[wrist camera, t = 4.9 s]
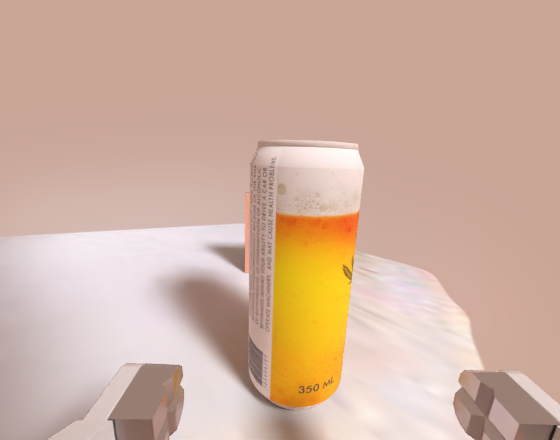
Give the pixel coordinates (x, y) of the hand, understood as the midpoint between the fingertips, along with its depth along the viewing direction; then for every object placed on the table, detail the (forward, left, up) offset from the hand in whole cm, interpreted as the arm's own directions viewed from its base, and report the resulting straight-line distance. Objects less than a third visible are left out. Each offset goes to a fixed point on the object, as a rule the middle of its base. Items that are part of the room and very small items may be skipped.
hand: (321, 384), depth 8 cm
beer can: (+6, +5, -8) cm, 12 cm away
